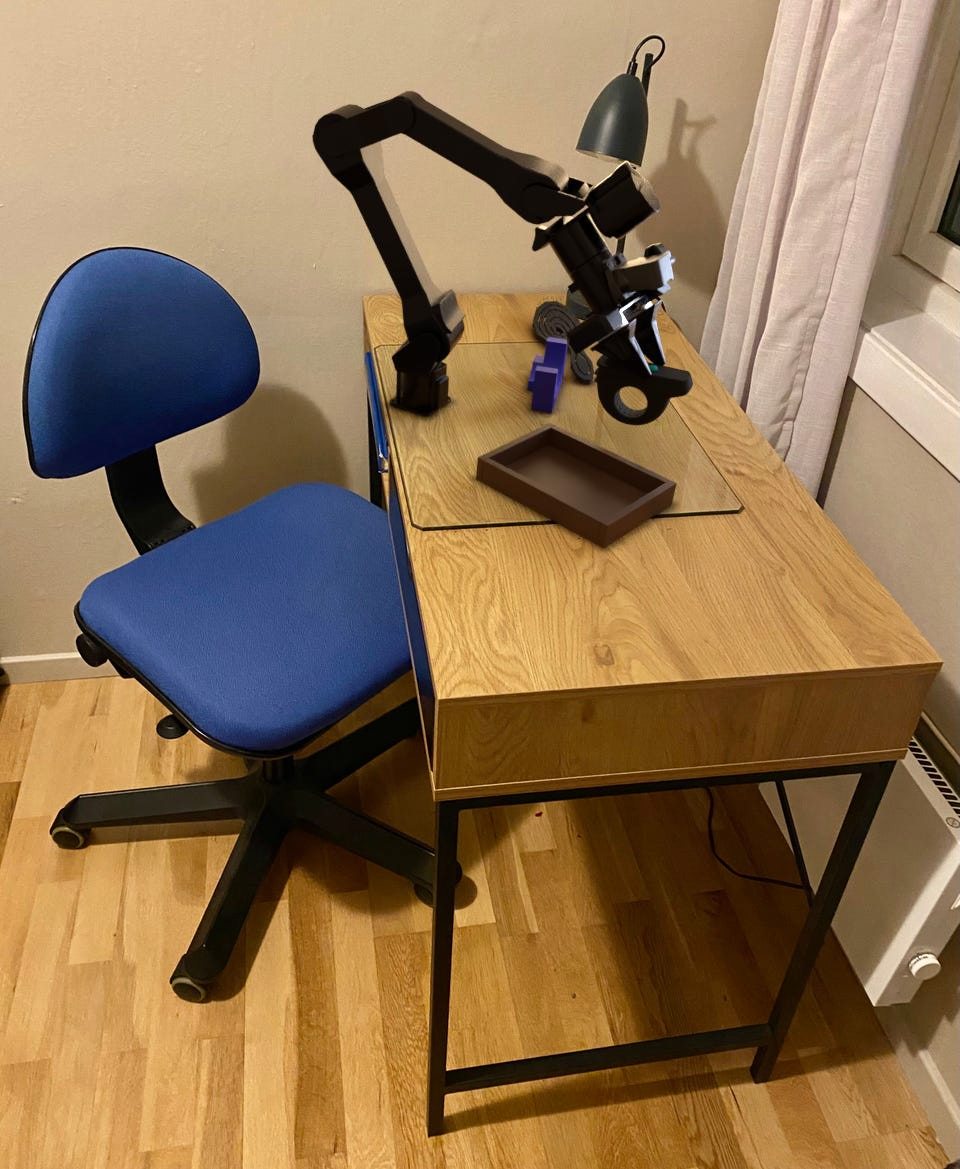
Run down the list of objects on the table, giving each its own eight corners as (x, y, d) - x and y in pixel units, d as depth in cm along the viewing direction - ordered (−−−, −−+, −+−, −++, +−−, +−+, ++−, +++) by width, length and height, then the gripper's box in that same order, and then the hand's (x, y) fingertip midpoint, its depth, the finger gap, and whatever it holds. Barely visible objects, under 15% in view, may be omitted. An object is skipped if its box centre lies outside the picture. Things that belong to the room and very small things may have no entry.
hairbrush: (562, 367, 140) (528, 295, 159) (558, 389, 142) (525, 316, 161) (616, 367, 141) (576, 296, 160) (612, 389, 144) (573, 316, 162)
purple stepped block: (533, 373, 144) (537, 335, 141) (563, 377, 144) (568, 339, 140) (520, 408, 135) (524, 368, 131) (551, 413, 134) (556, 373, 131)
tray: (475, 479, 119) (477, 457, 117) (547, 443, 127) (549, 422, 125) (603, 548, 109) (607, 526, 107) (672, 504, 117) (677, 482, 115)
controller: (596, 405, 127) (604, 334, 121) (687, 426, 123) (700, 354, 117) (585, 419, 124) (594, 347, 118) (678, 441, 120) (692, 367, 114)
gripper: (606, 244, 104) (680, 367, 106) (670, 207, 117) (734, 317, 119) (534, 296, 111) (605, 409, 114) (602, 256, 124) (664, 359, 127)
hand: (655, 371), depth 118 cm, fingers closed on controller, 4 cm apart
